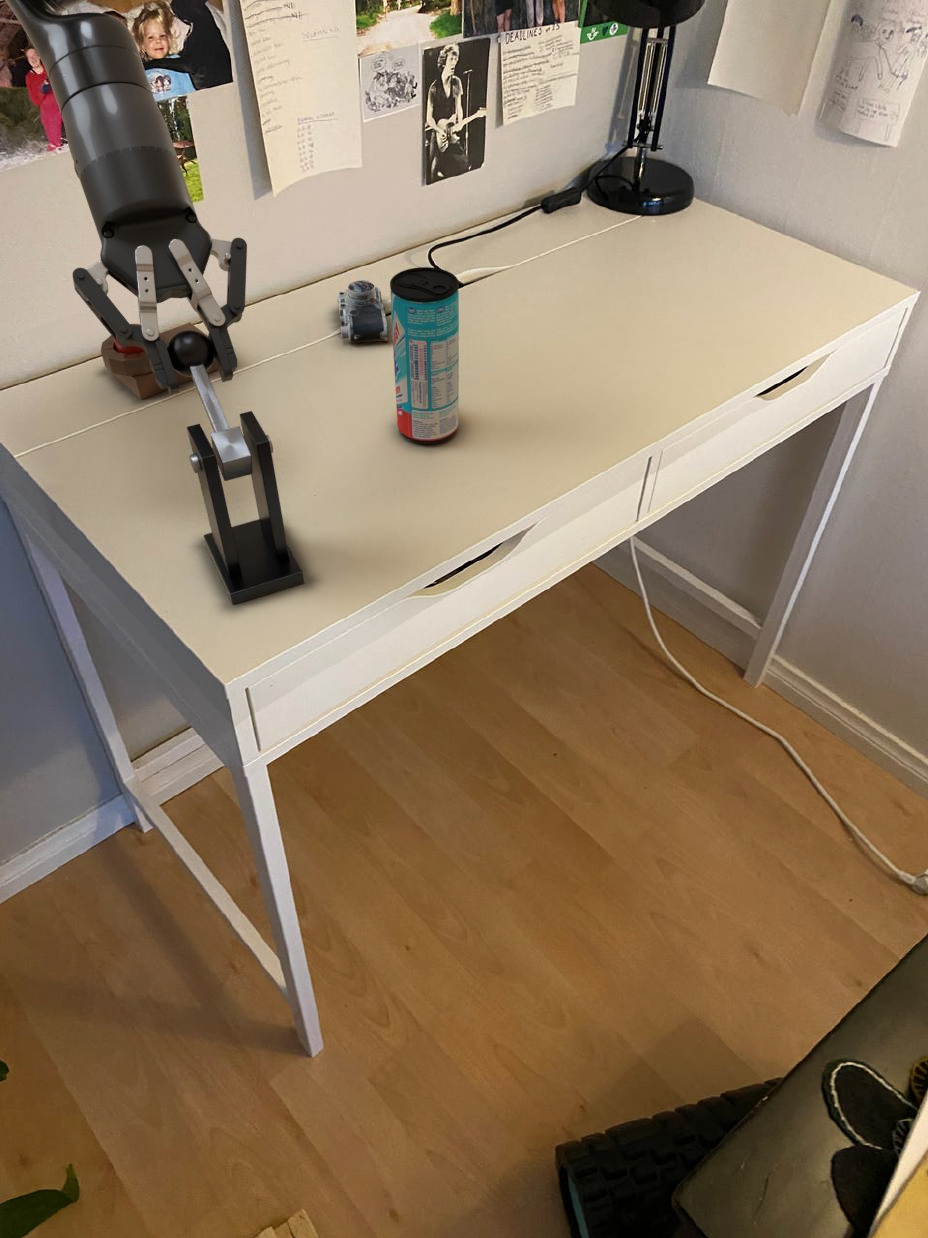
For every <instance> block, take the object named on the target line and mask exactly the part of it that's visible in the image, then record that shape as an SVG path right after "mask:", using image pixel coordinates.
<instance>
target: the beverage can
mask: <svg viewBox="0 0 928 1238" xmlns="http://www.w3.org/2000/svg"><path fill="white" fill-rule="evenodd" d="M459 283H460V281H459V279H458V277H457V276H456V275H455V274H453V273H452V272H450V271H448V270H445V269H442V268H438V267H430V266H420V267H411V268H407V269H405V270H401V271H399V272H398V273H396V274H395V275H394V276H392V278H391V279H390V281H389V288H390V314H391V329H392V349H393V351H392V352H393V367H394V386H395V405H396V406H395V407H396V425H397V427H398V430H399V432H400V434H401V435H402V436H403V437H404V438H405V439H406V440H407V441H409V442H411V443H415V444H419V445H436V444H440V443H444V442H446V441H448V440H450V439H451V438H452V437H453V436H454V435H455V434H456V432H457V431H458V427H459V423H460V421H459V418H460V417H459V415H460V414H459V410H460V409H459V408H460V407H459V404H460V403H459V402H460V400H459V397H460V392H459V391H460V387H459V386H460V385H459V384H460V383H459V382H460V305H459V303H460V295H459V291H460V290H459V286H460V284H459Z"/></svg>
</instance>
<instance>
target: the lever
mask: <svg viewBox="0 0 928 1238" xmlns="http://www.w3.org/2000/svg"><path fill="white" fill-rule="evenodd" d="M167 351H168V353H169V356H170V359H171V362H172V365H173V368H174V370H175V371H176V372H178V373H179V374H181V375H183V376H187V377H192V382H193V384H194V386H195V389H196V391H197V394H198V397H199V399H200V401H201V404H202V406H203V409H204V411H205V414H206V416H207V418H208V421H209V423H210V426H211V428H212V430H213V432H211V433H210V441H211V442H210V443H211V447H212V449H213V451H214V453H215V455H216V458H217V463H218V468H219V472H220V475H221V476H222V478H223V479H222V480H223V482H228V481H232V480H235V479H239V478H242V477H246V476H251V474H253V470H252V456H251V453H250V451H249V448H248V446H247V444H246V441H245V439H244V436H243V431H242V428H241V427H240V426H235V427H230V424H229V422H228V419H227V417H226V415H225V412H224V410H223V407H222V405H221V403H220V400H219V398H218V395H217V393H216V390H215V388H214V386H213V384H212V381H211V378H210V376H209V373H208V374H207V371H208V370H209V369H210V367H211V366H212V364H213V360H214V349H213V346H212V344H211V342H210V341H209V339H208V338H207V337H206V336H205V335H204V334H202V333H201V332H199V331H196V330H191V329H186V330H181V331H179V332H177V333H175V334H174V335H173V336H172V337H171V338H170V340H169V342H168V344H167Z"/></svg>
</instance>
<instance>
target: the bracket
mask: <svg viewBox="0 0 928 1238" xmlns="http://www.w3.org/2000/svg"><path fill="white" fill-rule="evenodd" d="M239 419H240V425H241V432H242V434H243V436H244V439H245V441H246V444H247V446H248V448H249V451H250V453H251V456H252V470H253V474H250V478H251V483H252V488H253V494H254V499H255V504H256V508H257V514H258V519H255V520H251V521H248V522H244V523H241V524H237V525H234V526H232V524H231V523H232V522H231V517H230V514H229V509H228V504H227V501H226V500H227V499H226V496H225V491H224V487H223V482H222V477H221V471H220V469H219V466H218V463H217V458H216V455H215V453H214V451H213V449H212V444H211V442H210V441H209V439H208V438H207V435H206V433H205V431H204V429H203V427H202V425H201V424H200V423H197V424H192V425H189V426H188V425H187V426H186V431H187V435H188V439H189V443H190V447H191V452H192V454H189V455H188V457H189V462H190V466H191V468H192V470H193V472H194V474H197V476H198V482H199V485H200V489H201V494H202V497H203V502H204V506H205V510H206V514H207V519H208V523H209V527H210V531H211V532H209V533H205V534H203V540H204V543H205V547H206V550H207V551H208V553H209V555H210V558H211V560H212V562H213V565H214V566H215V569H216V571H217V574H218V576H219V578H220V580H221V582H222V584H223V587H224V589H225V592H226V594H227V595H228V598H229V600H230V603H231V604H232V605H237V604H240V603H244V602H247V601H250V600H253V599H256V598H259V597H262V596H265V595H269V594H273V593H276V592H278V591H282V590H285V589H289V588H291V587H295V586H297V585H302V584H304V583H305V578H304V577H305V576H304V571H303V570H302V567H301V566H300V564H299V562H298V560H297V559H296V556H295V554H294V553H293V551H292V549H291V548H290V546H289V544H288V542H287V536H286V531H285V524H284V519H283V513H282V507H281V500H280V494H279V487H278V483H277V476H276V472H275V471H276V470H275V464H274V458H273V454H274V445H273V443H272V439H271V437H270V436H269V434H266V432H265V431H264V429H263V428H262V426H261V424H260V422H259V420H258V418H257V417H256V415H255V414H254V412H253V411H252V410H249V411H245V412H241V413H239Z"/></svg>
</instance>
